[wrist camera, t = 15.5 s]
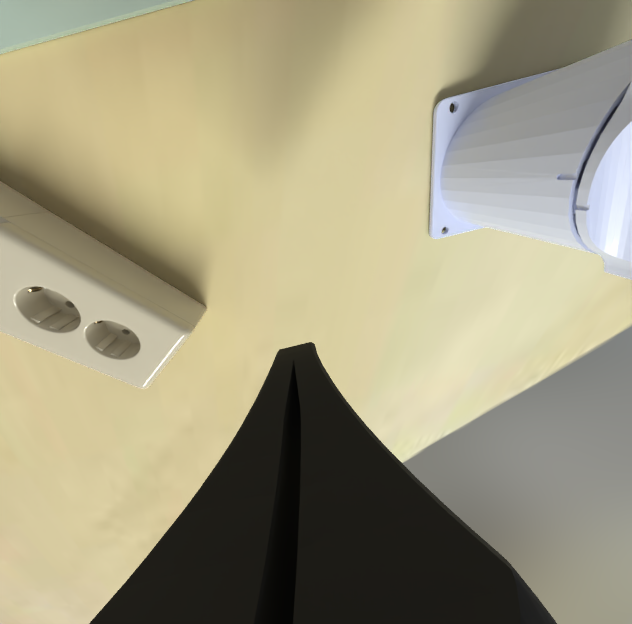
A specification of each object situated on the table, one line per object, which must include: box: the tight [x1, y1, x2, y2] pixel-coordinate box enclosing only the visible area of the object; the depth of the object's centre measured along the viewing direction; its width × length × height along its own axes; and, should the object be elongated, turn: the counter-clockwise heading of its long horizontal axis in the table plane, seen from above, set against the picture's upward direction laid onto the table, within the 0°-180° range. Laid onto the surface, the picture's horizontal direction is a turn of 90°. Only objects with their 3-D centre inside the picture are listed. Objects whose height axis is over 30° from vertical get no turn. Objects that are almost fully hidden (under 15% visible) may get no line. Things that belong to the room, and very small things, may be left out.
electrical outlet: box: [0, 181, 207, 389], centre depth 15 cm, size 7×4×18 cm
